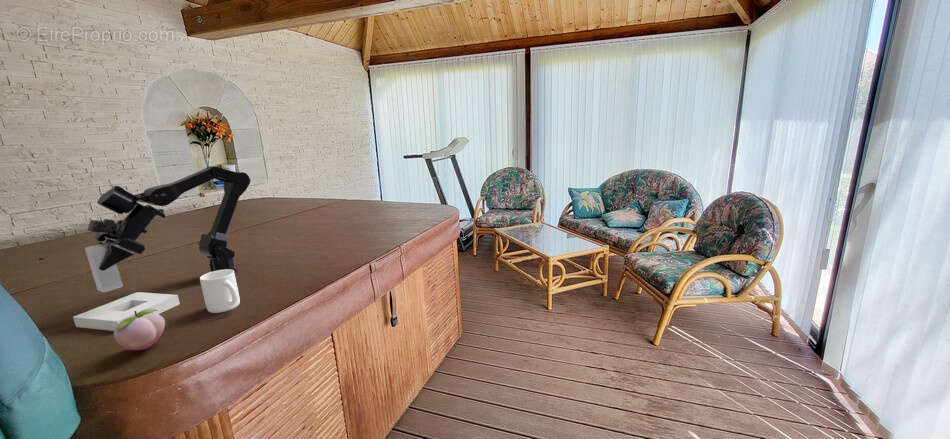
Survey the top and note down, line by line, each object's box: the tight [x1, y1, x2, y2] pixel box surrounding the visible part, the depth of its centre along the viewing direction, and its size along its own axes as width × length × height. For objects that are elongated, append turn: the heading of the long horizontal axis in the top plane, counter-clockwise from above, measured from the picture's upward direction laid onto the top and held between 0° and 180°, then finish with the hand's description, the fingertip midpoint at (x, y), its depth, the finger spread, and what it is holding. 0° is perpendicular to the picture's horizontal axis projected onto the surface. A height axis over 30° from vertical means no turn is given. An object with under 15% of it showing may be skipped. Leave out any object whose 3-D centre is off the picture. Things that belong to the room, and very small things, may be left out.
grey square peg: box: [84, 243, 124, 293], centre depth 107 cm, size 4×4×13 cm
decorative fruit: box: [113, 309, 166, 351], centre depth 87 cm, size 9×8×10 cm
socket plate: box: [72, 291, 180, 332], centre depth 106 cm, size 16×16×3 cm
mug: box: [199, 269, 241, 314], centre depth 107 cm, size 12×8×10 cm
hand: (97, 268), depth 106 cm, fingers closed on grey square peg, 4 cm apart
